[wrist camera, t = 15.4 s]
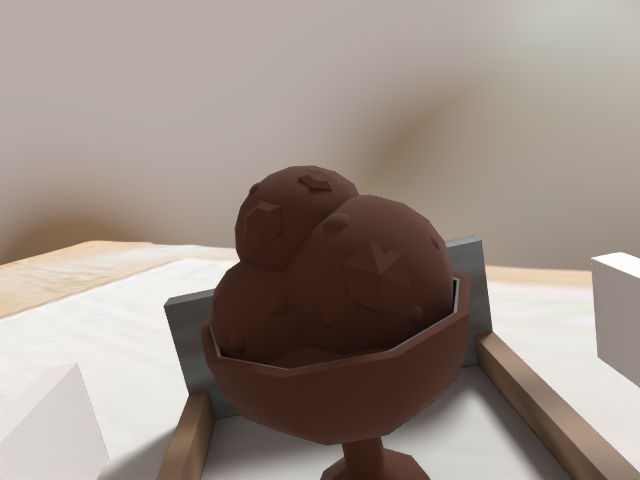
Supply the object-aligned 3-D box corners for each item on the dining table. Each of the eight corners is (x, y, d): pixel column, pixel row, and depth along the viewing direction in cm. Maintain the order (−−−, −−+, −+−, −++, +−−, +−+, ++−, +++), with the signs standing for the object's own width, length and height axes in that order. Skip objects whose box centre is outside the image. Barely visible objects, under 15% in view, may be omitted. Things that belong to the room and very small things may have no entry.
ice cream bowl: (208, 601, 18) (86, 218, 15) (304, 418, 28) (246, 168, 25) (507, 651, 14) (438, 161, 11) (493, 421, 25) (455, 130, 21)
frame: (714, 597, 15) (712, 365, 13) (96, 735, 14) (6, 516, 13) (487, 350, 32) (472, 235, 30) (201, 410, 31) (169, 298, 30)
